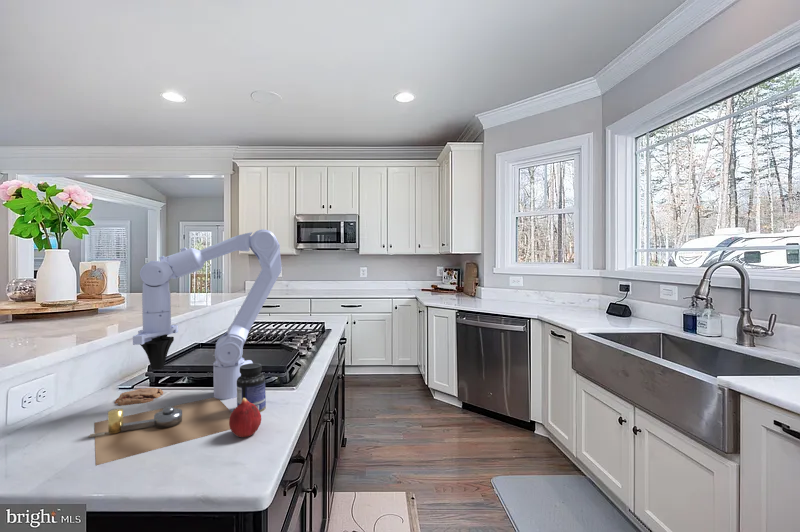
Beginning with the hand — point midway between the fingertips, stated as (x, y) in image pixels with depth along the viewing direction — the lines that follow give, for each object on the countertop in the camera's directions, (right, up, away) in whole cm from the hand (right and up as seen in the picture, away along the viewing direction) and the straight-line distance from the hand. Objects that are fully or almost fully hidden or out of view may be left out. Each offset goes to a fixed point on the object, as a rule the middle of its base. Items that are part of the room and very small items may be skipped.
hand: (157, 368), depth 92 cm
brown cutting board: (+9, -10, -12) cm, 18 cm away
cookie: (-7, -10, +4) cm, 13 cm away
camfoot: (+6, -8, -13) cm, 17 cm away
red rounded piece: (+27, -10, -16) cm, 33 cm away
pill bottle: (+24, -10, -4) cm, 26 cm away
